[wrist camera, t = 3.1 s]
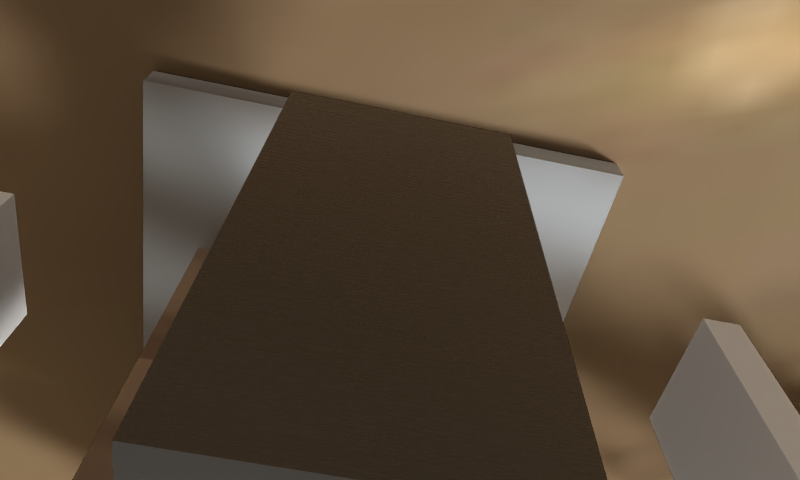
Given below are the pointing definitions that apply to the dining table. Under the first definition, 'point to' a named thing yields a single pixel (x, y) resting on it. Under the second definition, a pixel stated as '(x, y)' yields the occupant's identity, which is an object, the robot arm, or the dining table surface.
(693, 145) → the dining table surface
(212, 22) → the dining table surface
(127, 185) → the dining table surface
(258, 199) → the grey mallet
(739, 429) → the robot arm
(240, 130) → the block
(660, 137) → the dining table surface
